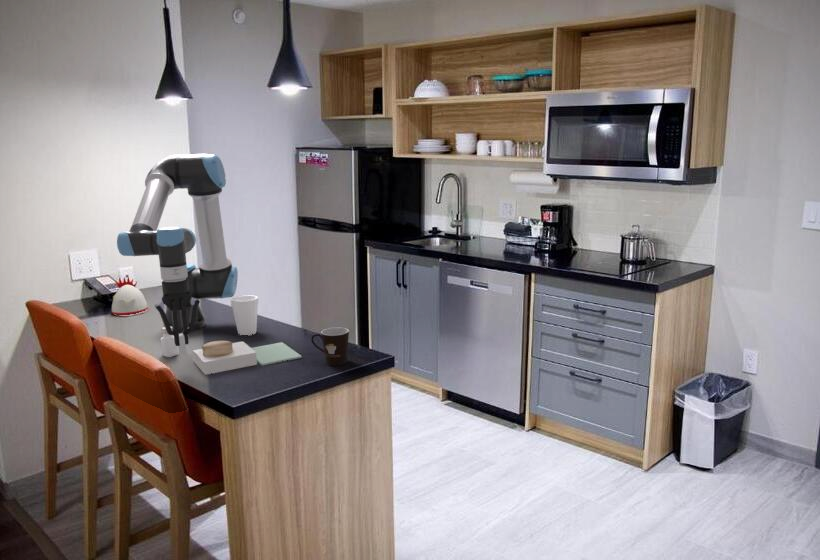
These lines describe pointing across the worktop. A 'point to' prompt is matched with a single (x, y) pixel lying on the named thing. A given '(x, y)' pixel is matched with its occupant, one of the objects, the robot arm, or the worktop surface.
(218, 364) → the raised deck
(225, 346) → the tan flat disc
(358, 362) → the worktop surface
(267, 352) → the rubber mat
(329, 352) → the coffee mug
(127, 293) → the white dome hat
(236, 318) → the foam cup
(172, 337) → the pepper shaker
